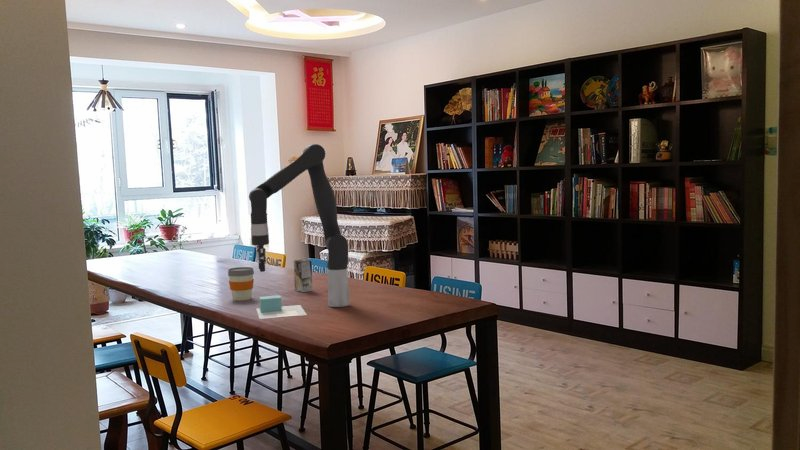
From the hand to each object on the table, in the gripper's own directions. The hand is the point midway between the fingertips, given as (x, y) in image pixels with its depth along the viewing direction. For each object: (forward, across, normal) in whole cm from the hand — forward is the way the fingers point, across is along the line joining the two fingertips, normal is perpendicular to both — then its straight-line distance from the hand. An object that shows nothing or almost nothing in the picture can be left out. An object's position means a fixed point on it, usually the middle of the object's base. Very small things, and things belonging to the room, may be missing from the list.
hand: (261, 270), depth 271 cm
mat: (+19, -5, -7) cm, 21 cm away
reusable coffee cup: (+19, +36, +8) cm, 42 cm away
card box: (+18, -1, -3) cm, 19 cm away
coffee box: (+20, +46, -24) cm, 56 cm away
